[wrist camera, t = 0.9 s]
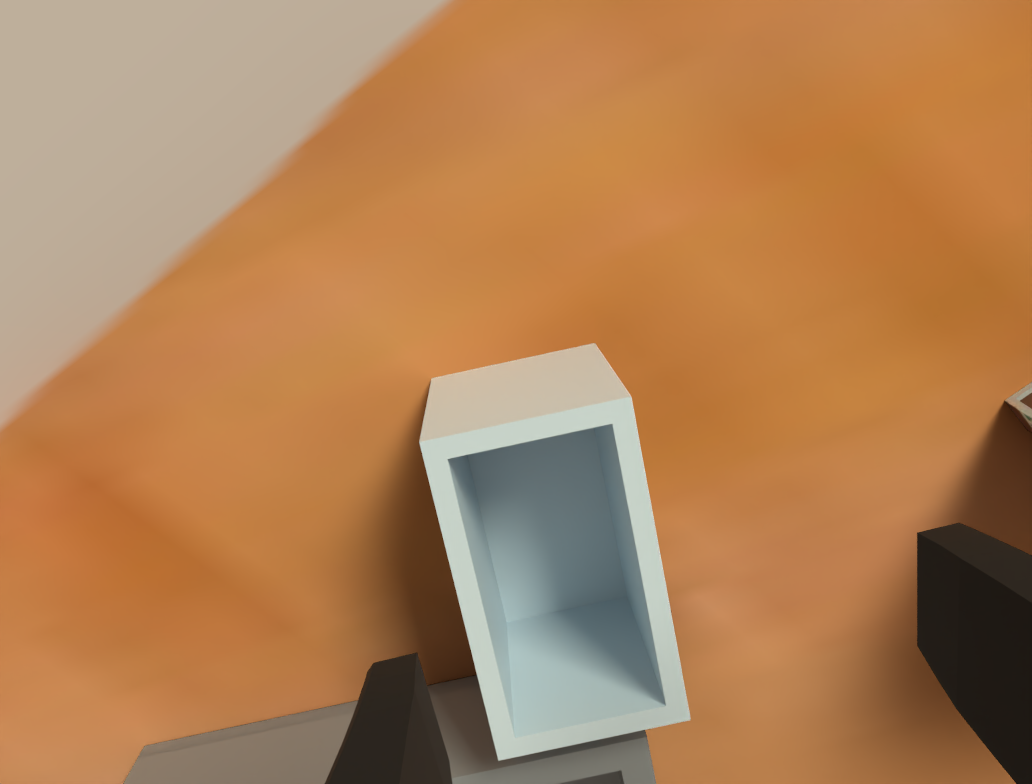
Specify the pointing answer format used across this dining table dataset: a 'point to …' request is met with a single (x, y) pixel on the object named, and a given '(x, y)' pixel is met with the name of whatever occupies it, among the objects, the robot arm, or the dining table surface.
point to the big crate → (319, 734)
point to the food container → (1022, 405)
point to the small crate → (553, 550)
